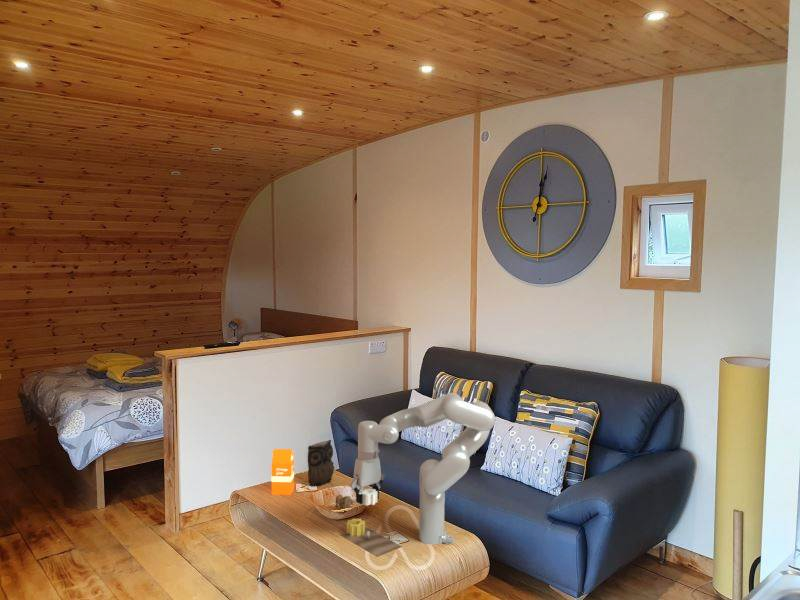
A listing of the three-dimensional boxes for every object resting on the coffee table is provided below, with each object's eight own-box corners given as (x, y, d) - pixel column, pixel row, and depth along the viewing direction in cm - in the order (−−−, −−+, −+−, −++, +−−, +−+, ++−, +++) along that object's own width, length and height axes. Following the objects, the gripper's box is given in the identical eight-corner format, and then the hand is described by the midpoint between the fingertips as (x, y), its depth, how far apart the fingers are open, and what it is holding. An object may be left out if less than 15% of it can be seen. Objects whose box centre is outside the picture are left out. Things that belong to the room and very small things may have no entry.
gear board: (402, 550, 228) (402, 538, 227) (376, 560, 220) (377, 548, 219) (362, 528, 246) (362, 517, 245) (337, 537, 238) (337, 526, 237)
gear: (368, 530, 240) (368, 520, 240) (359, 537, 234) (359, 527, 234) (352, 526, 244) (352, 517, 243) (343, 534, 237) (343, 524, 237)
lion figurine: (355, 517, 256) (356, 496, 255) (344, 520, 253) (344, 499, 252) (338, 505, 268) (338, 485, 267) (327, 508, 265) (327, 487, 264)
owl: (334, 478, 300) (334, 438, 298) (329, 488, 287) (329, 446, 286) (309, 477, 301) (309, 437, 299) (303, 487, 288) (302, 445, 287)
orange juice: (290, 495, 279) (290, 451, 277) (271, 494, 279) (271, 451, 278) (294, 488, 287) (293, 446, 285) (275, 488, 287) (275, 446, 285)
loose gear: (381, 502, 232) (381, 491, 231) (366, 507, 227) (366, 496, 227) (369, 496, 237) (369, 486, 237) (354, 501, 232) (354, 491, 232)
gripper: (379, 447, 239) (379, 491, 241) (343, 456, 228) (342, 503, 229) (392, 452, 234) (391, 497, 235) (355, 462, 222) (355, 509, 224)
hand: (367, 500), depth 232 cm, fingers closed on loose gear, 7 cm apart
